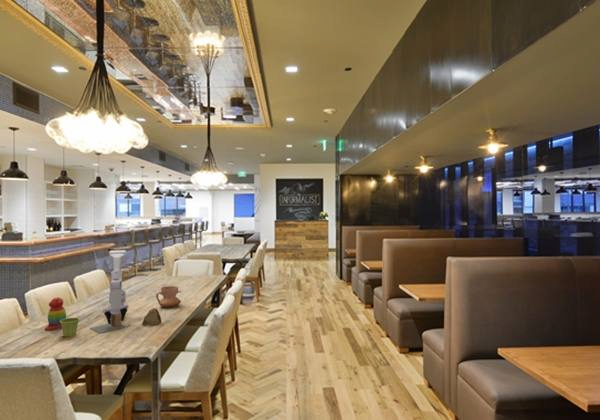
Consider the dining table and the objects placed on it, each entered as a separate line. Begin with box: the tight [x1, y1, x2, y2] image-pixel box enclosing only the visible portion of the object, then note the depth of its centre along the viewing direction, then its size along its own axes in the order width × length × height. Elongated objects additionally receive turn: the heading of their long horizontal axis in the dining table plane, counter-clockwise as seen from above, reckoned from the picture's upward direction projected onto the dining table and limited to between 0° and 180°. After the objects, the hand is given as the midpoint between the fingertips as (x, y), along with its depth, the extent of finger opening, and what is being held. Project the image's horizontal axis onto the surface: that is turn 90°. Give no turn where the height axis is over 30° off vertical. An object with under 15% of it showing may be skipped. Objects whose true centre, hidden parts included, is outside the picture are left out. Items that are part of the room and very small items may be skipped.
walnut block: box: [111, 313, 122, 327], centre depth 225 cm, size 6×4×7 cm, turn 50°
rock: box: [142, 307, 162, 326], centre depth 231 cm, size 11×9×10 cm
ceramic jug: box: [155, 285, 182, 309], centre depth 272 cm, size 18×14×14 cm
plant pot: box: [60, 317, 81, 338], centre depth 208 cm, size 9×9×9 cm
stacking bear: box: [44, 296, 67, 332], centre depth 223 cm, size 11×10×18 cm
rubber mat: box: [89, 323, 129, 334], centre depth 222 cm, size 14×16×1 cm
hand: (115, 322), depth 225 cm, fingers open, 7 cm apart
